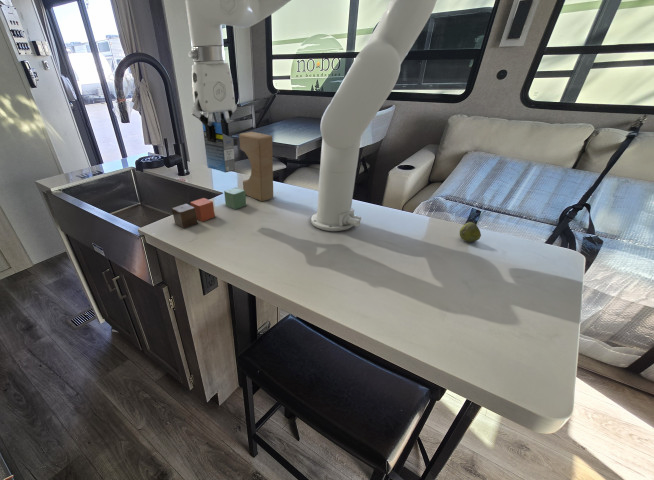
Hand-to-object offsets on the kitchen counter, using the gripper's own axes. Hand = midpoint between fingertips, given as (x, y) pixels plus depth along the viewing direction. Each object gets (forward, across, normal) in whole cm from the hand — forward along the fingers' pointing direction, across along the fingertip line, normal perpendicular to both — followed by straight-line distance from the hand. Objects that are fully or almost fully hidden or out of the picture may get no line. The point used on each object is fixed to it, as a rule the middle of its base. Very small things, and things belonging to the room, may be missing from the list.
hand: (218, 139), depth 85 cm
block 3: (+22, +7, +5) cm, 24 cm away
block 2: (+22, -6, +5) cm, 23 cm away
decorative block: (+22, +18, +6) cm, 29 cm away
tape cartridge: (+8, 0, 0) cm, 8 cm away
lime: (+22, +32, -60) cm, 71 cm away
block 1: (+22, -12, +5) cm, 26 cm away
